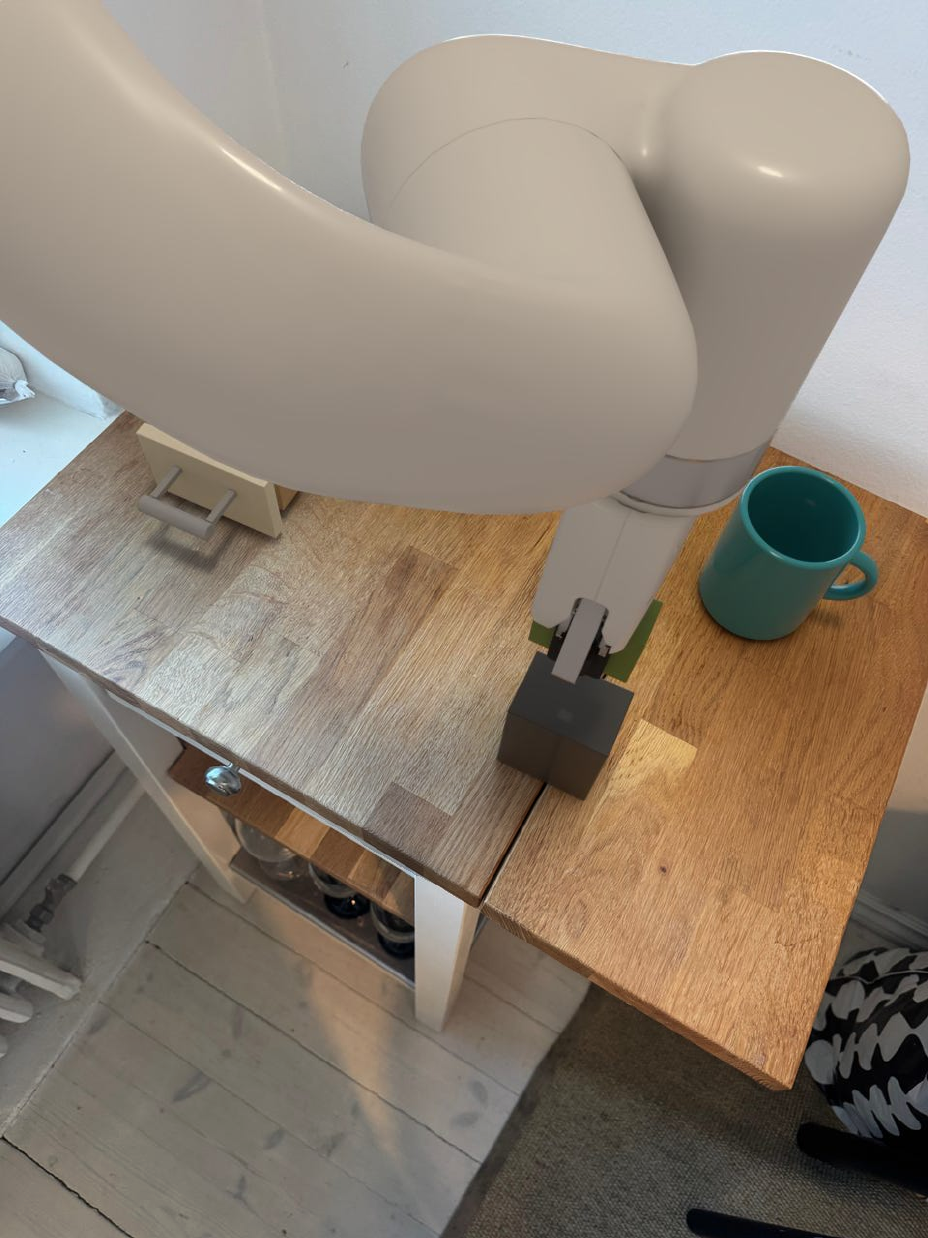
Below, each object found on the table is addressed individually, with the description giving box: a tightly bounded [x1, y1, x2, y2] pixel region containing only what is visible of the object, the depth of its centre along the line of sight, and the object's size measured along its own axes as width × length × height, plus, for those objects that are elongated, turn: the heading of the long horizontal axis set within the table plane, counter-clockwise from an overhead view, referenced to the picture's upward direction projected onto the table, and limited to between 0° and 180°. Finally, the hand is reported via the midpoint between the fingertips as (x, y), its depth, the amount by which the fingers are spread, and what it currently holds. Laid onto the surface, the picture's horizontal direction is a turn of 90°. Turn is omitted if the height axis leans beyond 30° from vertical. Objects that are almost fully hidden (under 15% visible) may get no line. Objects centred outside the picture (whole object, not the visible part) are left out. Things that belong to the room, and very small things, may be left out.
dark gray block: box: [496, 650, 635, 801], centre depth 62 cm, size 7×5×9 cm
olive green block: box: [527, 598, 664, 684], centre depth 49 cm, size 6×3×4 cm, turn 65°
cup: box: [698, 465, 880, 641], centre depth 68 cm, size 9×12×11 cm
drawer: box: [135, 422, 298, 542], centre depth 73 cm, size 18×11×7 cm, turn 155°
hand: (587, 637), depth 51 cm, fingers closed on olive green block, 3 cm apart
